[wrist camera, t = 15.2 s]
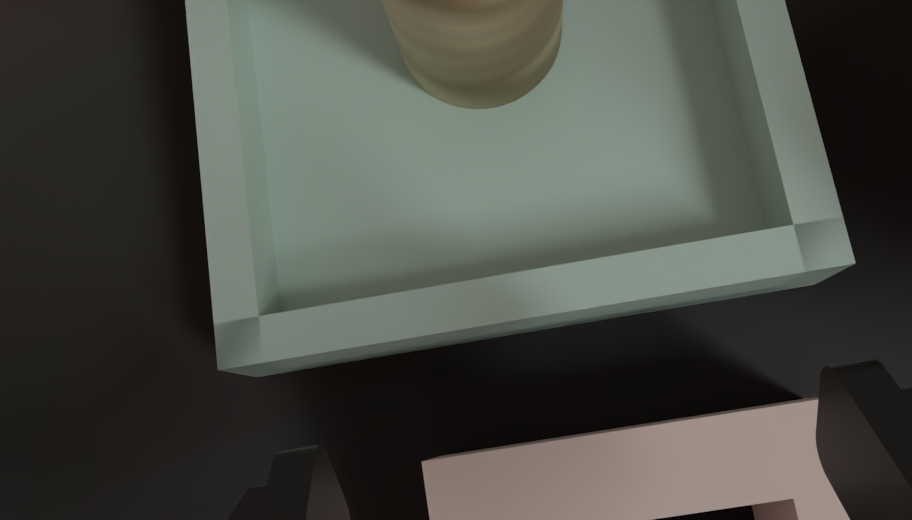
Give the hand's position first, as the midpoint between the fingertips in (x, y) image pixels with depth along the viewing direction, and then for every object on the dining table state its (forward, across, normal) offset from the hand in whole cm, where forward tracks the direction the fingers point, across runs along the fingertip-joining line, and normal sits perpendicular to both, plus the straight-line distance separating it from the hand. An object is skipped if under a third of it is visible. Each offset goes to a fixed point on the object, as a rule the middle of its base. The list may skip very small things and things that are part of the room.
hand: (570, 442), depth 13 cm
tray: (+15, 0, -2) cm, 15 cm away
